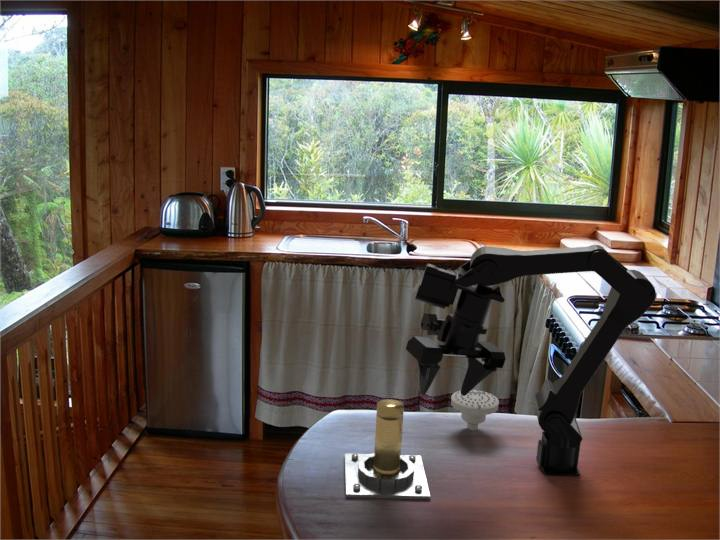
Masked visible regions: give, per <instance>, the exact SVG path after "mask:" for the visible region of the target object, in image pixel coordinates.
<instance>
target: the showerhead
mask: <svg viewBox="0 0 720 540" xmlns="http://www.w3.org/2000/svg"><path fill="white" fill-rule="evenodd" d="M450 397H451V399H450V400H451V401H450V404H451V406H452V407H453V408H454V409H455V410H457V411H458V412H461V419H462V421H464V422H465V423H466V427H467V429H468V430H471V431H478V429H479V425H480V424H482V423H484V422H486V418H487V417H486V416H487V415H492V414H494V413H496V412H498V410H499V403H500V401H499V399H498V398H497V397H496V396H495V395H494V394H492V393H489V392H486V391H485V390H479V389H474V388H473V389H472V390H471V391H470V392H469V393H468V394H467V395H465V396H463V395H462V394H461V390H457V391H456V392H454V393H452V395H451V396H450Z"/></svg>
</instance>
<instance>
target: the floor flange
mask: <svg viewBox="0 0 720 540" xmlns="http://www.w3.org/2000/svg"><path fill="white" fill-rule="evenodd" d="M373 466H374V452H373V453H344V471H345V472H344V473H345V474H344V475H345V476H344V477H345V480H344V481H345V497H346V498H350V499H351V498H352V499H354V498H355V499H390V500H391V499H393V500H394V499H396V500H397V499H398V500H399V499H400V500H431V493H430V489H429V485H428V480H427V476H426V472H425V468H424V463H423V458H422V455H418V454H416V455H415V454H401V458H400V473H399V475H398V476H395V477H381V476H378V475H375V474H373Z"/></svg>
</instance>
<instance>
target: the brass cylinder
mask: <svg viewBox="0 0 720 540" xmlns="http://www.w3.org/2000/svg"><path fill="white" fill-rule="evenodd" d="M404 408H405V404H404V403H403V402H402V401H399V400H397V399H396V400H395V399H382V400H379V401H377V403H376V416H375V419H376V420H375V432H374V433H375V434H374V451H373V453H374V466H373V474H375V475H378V476H381V477H395V476H398V475H399V473H400V458H401V455H402V442H403V440H402V439H403V426H404V425H403V424H404V412H405V411H404V410H405V409H404Z"/></svg>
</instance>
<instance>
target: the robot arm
mask: <svg viewBox="0 0 720 540" xmlns="http://www.w3.org/2000/svg"><path fill="white" fill-rule="evenodd" d="M582 272H583V273H585V272H586V273H587V272H594V273H596V274H597V275H598V276H599V277H601V279H603V280H604V281H605V283H607V284H608V285H609V286H610V290H609V292H608V294H607V298H606V303H605V305H604V310H603V312H602V314H601V316H600V317H599V319H598V320H597V322H596V323H595V325H594V326H593V328H592V329H591V331H590V332H589V334H588V335H587V337H586V338H585V340H584V342H583V343H582V345H580V347H579V349H578V351H577V352H576V354H575V355H574V357H573V359H571V362H569V364H568V366H567V367H566V369H565V371H564V372H563V373H562V375H561V376H560V377H559V378H558V379H556V380H555V381H553V382H552V381H551V380H550V379H548V378H547V379H545V381H544V382H543V384H542V387H541V389H540V390H539V391H538V392H536V393H535V395H534V397H535V403H534V408H535V412H536V413H535V414H536V418H537V421H538V425H539V427H540V428H541V430H542V432H541V439H538V442H537V450H536V451H537V452H536V456H535V457H536V461H537V463H538V465H539V467H540V468H541V470H542V472H543V473H544V474H545V476H546V475H547V476H576V477H577V476H578V477H579V476H580V475H581V471H580V470H579V457H580V450H581V443H582V442H583V436H582V433H581V429H580V426H579V424H578V421H577V418H576V414H577V412H578V408H579V404H580V400H581V397H582V394H583V392H584V390H585V389H586V387H587V386H588V385H589V383H590V382H591V381H592V378H594V375H595V374H596V372H597V371H598V370H599V368H600V366H601V365H602V364H603V362H604V360H605V359H606V358H607V356H608V355H609V353H610V352H611V350H612V348H613V347H614V346H615V344H616V343H617V341H618V340H619V338H620V337H621V335H622V334H623V332H624V331H625V330H626V328H628V327H629V326H630V325H631V324H633V323H635V322H636V321H638V320H639V319H641V317H642V316H643V315H644V314H646V312H647V311H648V310H649V309H650V308H651V307H652V306H653V305H654V303H655V301H656V298H657V292H656V289H655V285H653V283H652V282H651V281H650V280H649V279H648V277H647V276H646V275H645V274H643V273H642V272H641V271H639V270H636V269H629V268H627V267H626V266H625V265H624V264H622V263H621V262H620V261H619V260H617V259H616V258H615V257H613V256H612V255H611V254H610V253H609V252H608V251H607V250H606V249H605V248H604V246H601V245H600V244H591V245H588V246H577V247H564V248H549V249H536V250H535V249H534V250H516V249H512V248H506V247H500V246H499V247H498V246H490V245H489V246H487V245H486V246H482V247H478V248H477V249H476V250H475V251H474V252H473V253H472V255H471V257H470V258H469V260H468V261H466V262H465V263H464V264H462V265H461V266H459V267H457V268H456V269H455V271H454V272H453V271H450V270H446V269H444V268H440V267H438V266H436V265H434V264H432V263H427V264H426V266H425V269H424V272H423V273H422V274H423V275H422V277H420V280H419V282H418V287H417V290H416V293H415V295H414V296H415V297H414V301H418V302H420V303H423V304H427V305H430V306H434V307H437V308H440V309H442V310H443V309H444V310H445V309H446V308H449V307H450V306H453V305H454V303H455V299H456V297H457V294H458V291H459V290H460V292H459V295H458V299H457V302H456V305H455V308H454V311H453V313H448V314H447V315H446V316H445V319H442V318H441V319H440V318H438V316H437V314H436V313H428V312H424V313H423V315H422V318H421V321H420V328H421V330H422V331H426V335H427V336H419V335H418V336H416V335H413V336H411V337H409V339H408V341H407V344H406V347H405V350H406V351H407V352H408V353H409V354H410V355H411V356H412V357H413V358H414V359H415V360H416V362H417V364H418V372H419V375H418V376H419V392H420V394H421V395H424V396H425V395H426V394H427V392H428V390H429V389H430V387H431V386H432V383H433V381H434V379H435V378H436V377H437V374H438V372H439V370H440V368H441V366H440V365H439V364H440V362H441V361H442V360H443V357H452V358H467V363H468V366H467V368H466V372H465V375H464V378H463V380H462V381H463V382H462V385H461V390H460V391H461V394H462V395H463V396H465V395H467V394H468V393H469V392H470V391H471V390H472V389H473V390H474V388H475V387H477V385H478V384H480V383H481V382H482V381H483V380H484V379H485V378H487V377H488V376H489V375H491V374H492V373H494V372H497V370H498V369H503V368H504V365H505V362H506V359H507V358H506V353H505V351H503V350H502V349H500V348H499V347H498V346H497V345H495V344H494V343H493V342H491V341H484V340H480V337H481V335H486V334H487V332H488V328H486V327H485V326H484V325H485V323H486V319H487V317H488V314H489V311H490V308H491V305H492V302H493V301H496V302H500V303H504V302H505V301H506V300H505V295H504V293H503V292H502V290H501V286H500V284H503V283H504V284H505V283H507V282H510V281H513V280H516V279H518V278H521V277H527V276H539V275H552V274H553V275H554V274H567V273H568V274H569V273H570V274H571V273H582ZM429 336H437V337H436V340H438V341H439V342H442V343H443V344H438V343H436V342H435V341H434V340H433V339H432V338H431V337H429Z"/></svg>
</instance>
